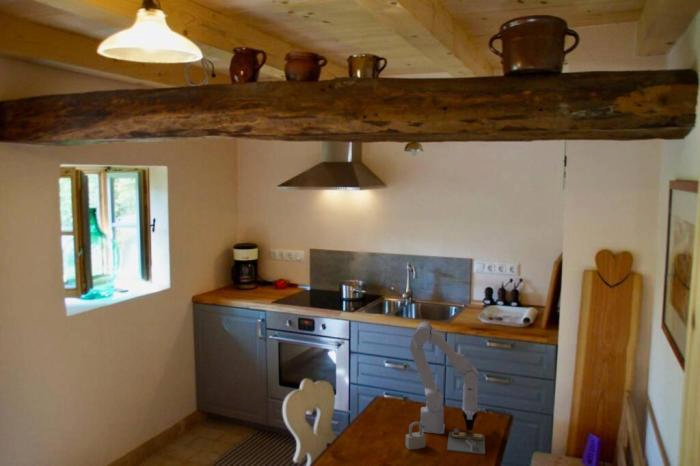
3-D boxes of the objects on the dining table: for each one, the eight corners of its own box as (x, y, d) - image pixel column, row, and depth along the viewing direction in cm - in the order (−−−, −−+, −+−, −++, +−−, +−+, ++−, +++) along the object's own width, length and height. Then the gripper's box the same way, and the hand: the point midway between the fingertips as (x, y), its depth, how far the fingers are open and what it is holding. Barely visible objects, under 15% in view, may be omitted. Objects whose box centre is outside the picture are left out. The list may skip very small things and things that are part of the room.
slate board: (447, 450, 215) (447, 449, 215) (449, 432, 230) (449, 431, 230) (485, 454, 212) (485, 453, 212) (484, 436, 227) (484, 434, 227)
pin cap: (453, 433, 225) (453, 430, 225) (453, 431, 227) (453, 428, 227) (459, 434, 224) (459, 431, 224) (459, 431, 226) (459, 428, 226)
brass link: (451, 437, 224) (451, 435, 224) (451, 433, 228) (451, 431, 228) (482, 440, 222) (482, 438, 222) (482, 436, 225) (482, 433, 225)
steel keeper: (465, 445, 218) (465, 439, 218) (469, 444, 219) (470, 438, 218) (471, 450, 214) (471, 444, 214) (476, 449, 215) (476, 443, 215)
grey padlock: (421, 443, 221) (421, 418, 220) (426, 447, 218) (426, 422, 217) (404, 446, 219) (405, 421, 218) (409, 450, 215) (409, 425, 214)
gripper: (480, 404, 221) (479, 438, 222) (480, 391, 235) (479, 422, 236) (462, 403, 222) (461, 436, 224) (462, 389, 237) (462, 421, 238)
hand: (469, 429), depth 230 cm, fingers closed
